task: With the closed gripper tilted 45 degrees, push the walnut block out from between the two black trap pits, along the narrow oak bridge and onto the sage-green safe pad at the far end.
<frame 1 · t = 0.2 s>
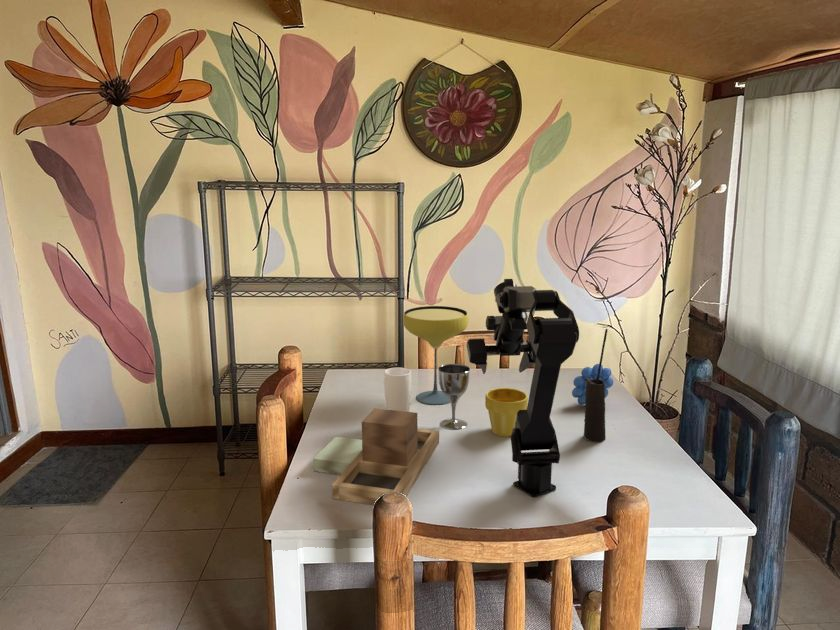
hand: (501, 371, 160), 15 cm above the table, tool tilted 35°, fingers open, 9 cm apart
grapes: (590, 404, 179), on the table
cocktail glass: (435, 398, 184), on the table
drinking glass: (398, 428, 164), on the table
wine glass: (453, 424, 166), on the table
butter churn: (589, 437, 158), on the table
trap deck: (371, 465, 143), on the table
plant pot: (505, 432, 161), on the table
walnut block: (390, 455, 141), point 3 cm above the table, touching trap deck
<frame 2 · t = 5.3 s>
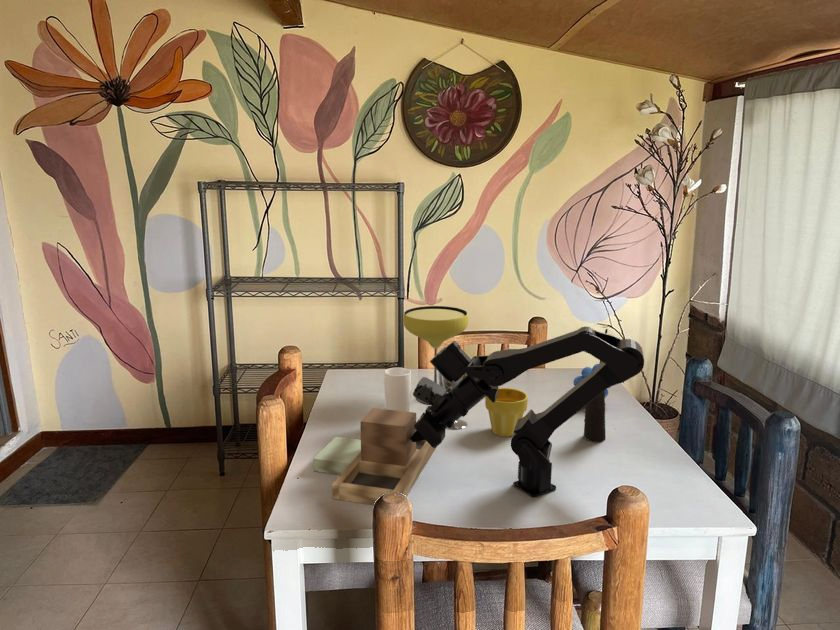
hand: (412, 440, 139), 7 cm above the table, tool tilted 45°, fingers closed, pressing on walnut block
walnut block: (389, 455, 141), point 3 cm above the table, touching gripper, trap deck
everything else where it was.
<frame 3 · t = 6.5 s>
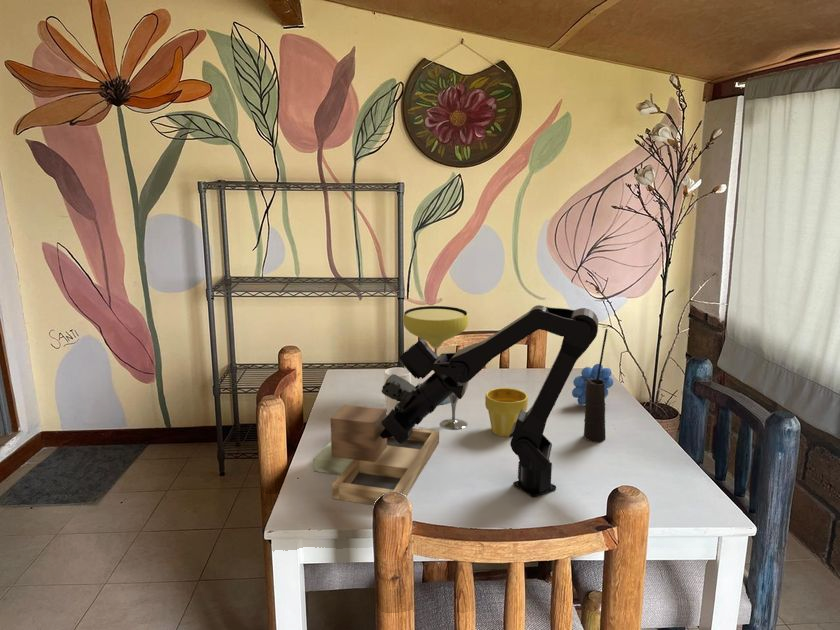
hand: (381, 436, 141), 7 cm above the table, tool tilted 45°, fingers closed, pressing on walnut block
walnut block: (359, 451, 143), point 3 cm above the table, touching gripper
everything else where it was.
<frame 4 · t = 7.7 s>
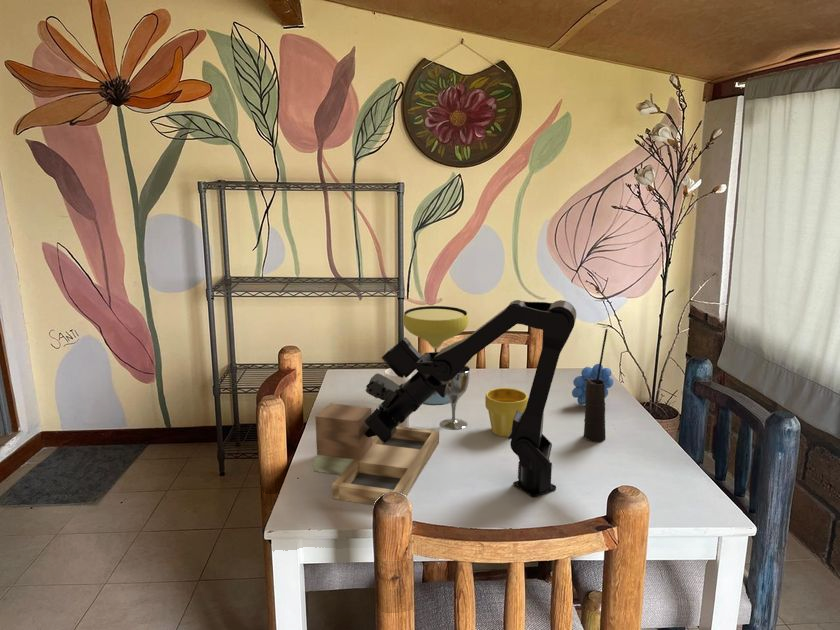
hand: (366, 435, 142), 7 cm above the table, tool tilted 45°, fingers closed, pressing on walnut block
walnut block: (345, 449, 144), point 3 cm above the table, touching gripper, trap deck
everything else where it was.
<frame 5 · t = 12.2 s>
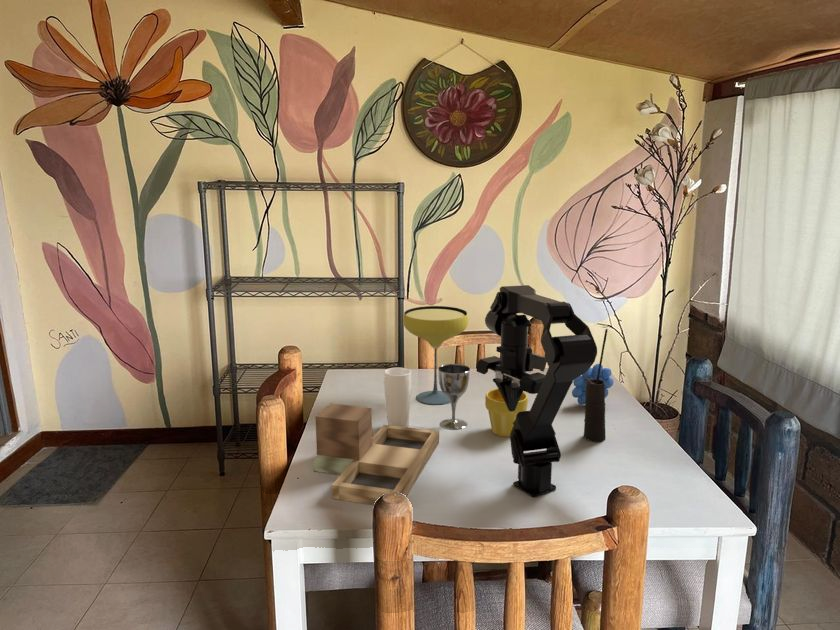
hand: (511, 410, 143), 12 cm above the table, tool pointing down, fingers closed
walnut block: (345, 449, 144), point 3 cm above the table, touching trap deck
everything else where it was.
at the end: walnut block 0.2 cm from the target spot, point 3.0 cm above the table; walnut block tilted 0° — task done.
